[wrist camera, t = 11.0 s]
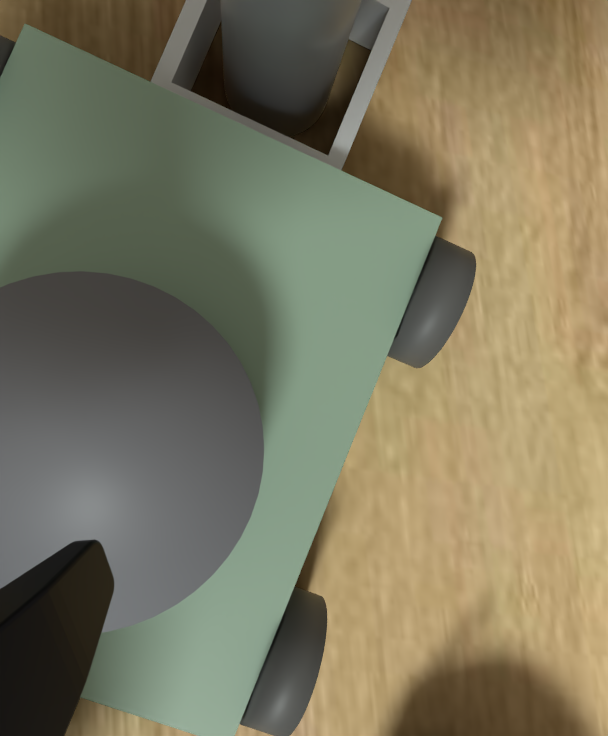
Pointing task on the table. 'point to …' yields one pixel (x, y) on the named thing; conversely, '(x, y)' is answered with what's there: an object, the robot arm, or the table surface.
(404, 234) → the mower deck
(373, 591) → the table surface
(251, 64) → the grey banded cylinder
